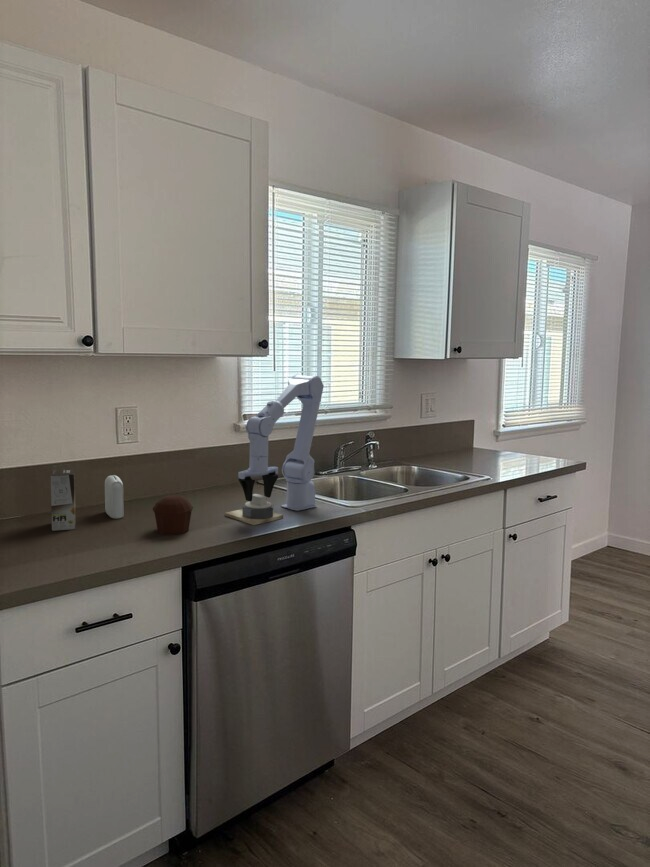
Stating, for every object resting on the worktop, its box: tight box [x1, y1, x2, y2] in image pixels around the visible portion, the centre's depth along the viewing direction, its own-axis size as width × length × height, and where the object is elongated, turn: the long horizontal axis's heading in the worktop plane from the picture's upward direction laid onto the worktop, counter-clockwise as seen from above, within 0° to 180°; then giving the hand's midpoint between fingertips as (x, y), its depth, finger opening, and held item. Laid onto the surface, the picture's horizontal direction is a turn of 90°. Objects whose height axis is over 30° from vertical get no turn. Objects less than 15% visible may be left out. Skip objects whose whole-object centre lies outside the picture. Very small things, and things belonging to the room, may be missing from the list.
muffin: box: [152, 494, 194, 536], centre depth 189 cm, size 12×11×10 cm
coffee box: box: [49, 468, 76, 532], centre depth 190 cm, size 9×6×16 cm
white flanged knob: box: [244, 493, 272, 509], centre depth 204 cm, size 8×8×5 cm
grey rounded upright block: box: [104, 474, 125, 519], centre depth 204 cm, size 10×4×12 cm, turn 29°
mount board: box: [224, 508, 284, 526], centre depth 206 cm, size 12×14×1 cm
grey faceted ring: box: [242, 503, 274, 519], centre depth 205 cm, size 9×9×3 cm
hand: (258, 498), depth 204 cm, fingers open, 7 cm apart
